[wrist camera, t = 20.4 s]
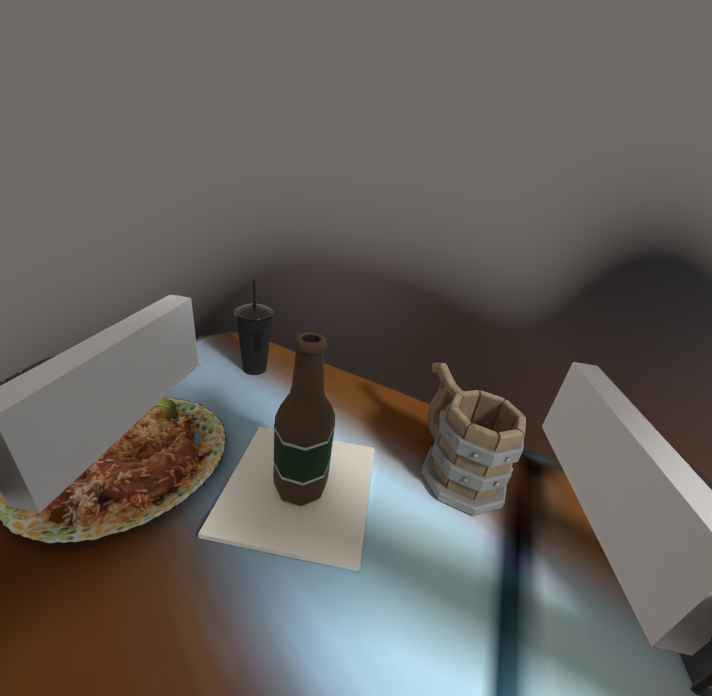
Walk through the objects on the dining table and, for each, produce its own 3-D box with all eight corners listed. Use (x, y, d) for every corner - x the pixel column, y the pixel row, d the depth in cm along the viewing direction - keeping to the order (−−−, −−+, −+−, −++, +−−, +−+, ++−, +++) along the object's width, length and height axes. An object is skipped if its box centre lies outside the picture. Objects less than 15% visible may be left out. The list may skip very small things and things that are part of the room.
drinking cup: (279, 365, 79) (281, 280, 70) (260, 382, 73) (259, 290, 63) (250, 356, 81) (249, 272, 72) (229, 372, 75) (224, 281, 65)
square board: (373, 451, 59) (374, 448, 59) (359, 572, 42) (360, 568, 41) (259, 429, 61) (259, 426, 60) (198, 538, 43) (198, 533, 43)
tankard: (520, 504, 54) (559, 429, 47) (450, 523, 49) (482, 443, 42) (449, 419, 70) (469, 354, 63) (392, 428, 65) (407, 358, 58)
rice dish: (-29, 471, 49) (-48, 442, 46) (165, 383, 69) (159, 360, 66) (56, 613, 36) (37, 586, 33) (263, 454, 56) (262, 429, 53)
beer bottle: (261, 486, 50) (260, 335, 38) (300, 456, 55) (309, 317, 44) (301, 518, 46) (313, 363, 35) (338, 482, 52) (359, 339, 40)
